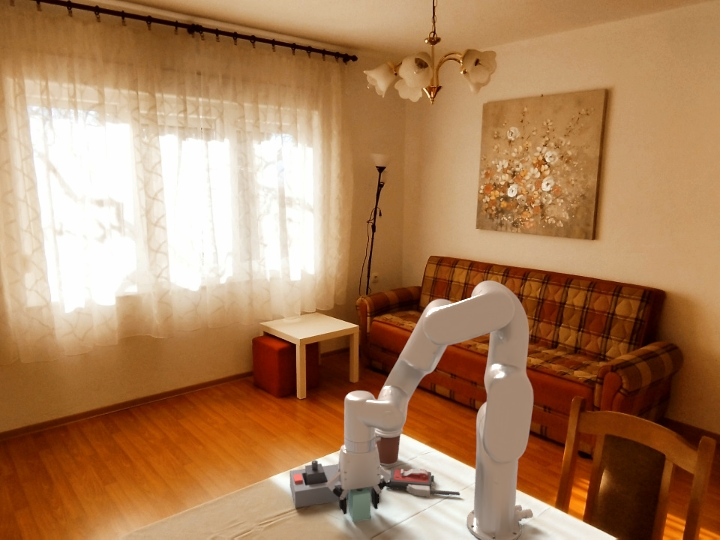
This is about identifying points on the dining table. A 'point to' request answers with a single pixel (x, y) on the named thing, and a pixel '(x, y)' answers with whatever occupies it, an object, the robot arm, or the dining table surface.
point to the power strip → (314, 485)
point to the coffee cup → (388, 446)
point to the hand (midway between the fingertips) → (359, 508)
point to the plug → (359, 504)
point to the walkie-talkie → (415, 482)
